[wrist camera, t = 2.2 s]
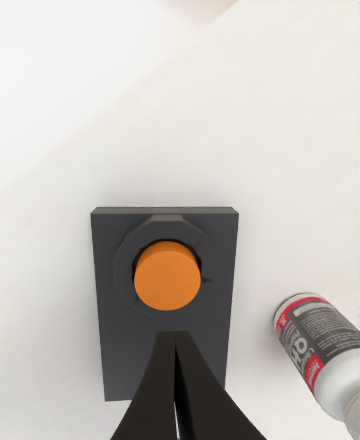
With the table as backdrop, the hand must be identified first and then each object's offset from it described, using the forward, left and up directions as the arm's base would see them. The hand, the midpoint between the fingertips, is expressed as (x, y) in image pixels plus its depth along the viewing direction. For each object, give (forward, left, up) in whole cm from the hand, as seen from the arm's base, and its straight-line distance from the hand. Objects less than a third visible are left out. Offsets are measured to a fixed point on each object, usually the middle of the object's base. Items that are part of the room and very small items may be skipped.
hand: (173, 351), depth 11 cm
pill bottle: (+4, -13, -11) cm, 17 cm away
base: (-3, -3, -10) cm, 11 cm away
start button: (0, 0, -7) cm, 7 cm away
